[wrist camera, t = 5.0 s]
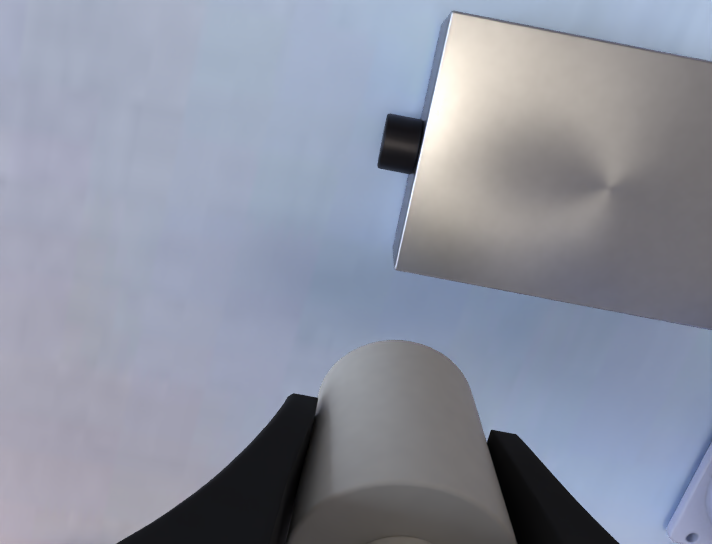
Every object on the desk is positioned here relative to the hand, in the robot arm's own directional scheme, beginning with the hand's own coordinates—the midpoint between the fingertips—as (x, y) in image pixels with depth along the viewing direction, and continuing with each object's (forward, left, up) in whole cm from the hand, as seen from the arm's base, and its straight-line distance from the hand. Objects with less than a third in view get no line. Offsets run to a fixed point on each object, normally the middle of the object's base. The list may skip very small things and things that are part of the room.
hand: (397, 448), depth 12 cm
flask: (-5, -6, -8) cm, 12 cm away
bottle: (0, 0, -2) cm, 2 cm away
